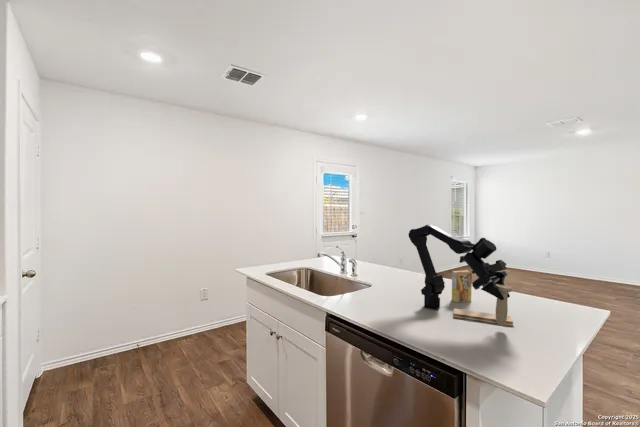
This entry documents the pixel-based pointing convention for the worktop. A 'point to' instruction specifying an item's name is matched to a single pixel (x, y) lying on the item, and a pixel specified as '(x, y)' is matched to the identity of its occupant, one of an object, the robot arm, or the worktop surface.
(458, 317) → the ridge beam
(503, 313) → the handle
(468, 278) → the candy box
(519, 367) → the worktop surface
